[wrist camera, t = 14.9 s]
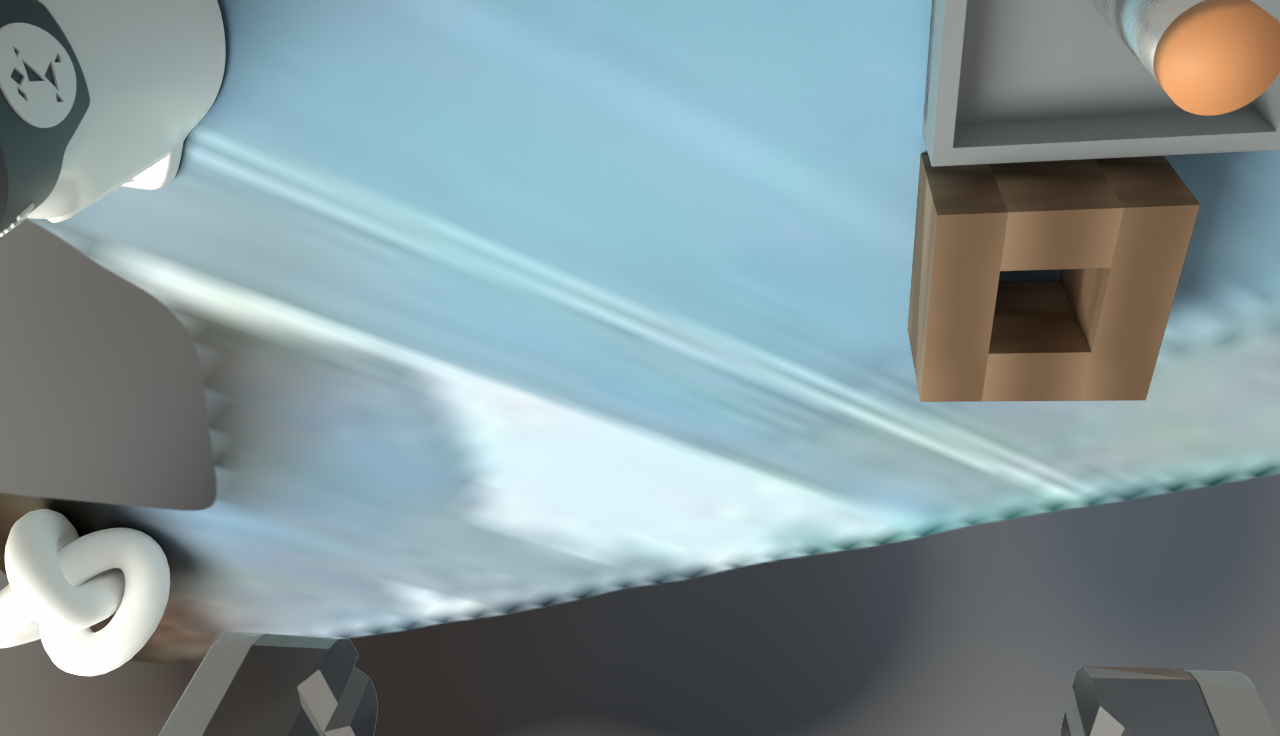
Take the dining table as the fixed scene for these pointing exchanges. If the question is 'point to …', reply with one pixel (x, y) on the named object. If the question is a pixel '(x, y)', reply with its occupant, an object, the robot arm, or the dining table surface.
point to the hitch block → (1045, 310)
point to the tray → (1062, 91)
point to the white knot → (81, 591)
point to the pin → (1200, 48)
